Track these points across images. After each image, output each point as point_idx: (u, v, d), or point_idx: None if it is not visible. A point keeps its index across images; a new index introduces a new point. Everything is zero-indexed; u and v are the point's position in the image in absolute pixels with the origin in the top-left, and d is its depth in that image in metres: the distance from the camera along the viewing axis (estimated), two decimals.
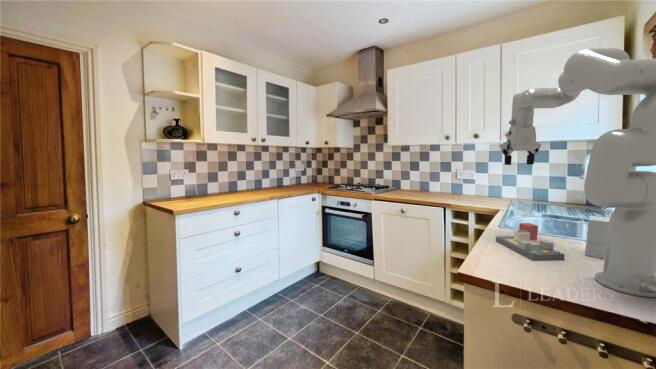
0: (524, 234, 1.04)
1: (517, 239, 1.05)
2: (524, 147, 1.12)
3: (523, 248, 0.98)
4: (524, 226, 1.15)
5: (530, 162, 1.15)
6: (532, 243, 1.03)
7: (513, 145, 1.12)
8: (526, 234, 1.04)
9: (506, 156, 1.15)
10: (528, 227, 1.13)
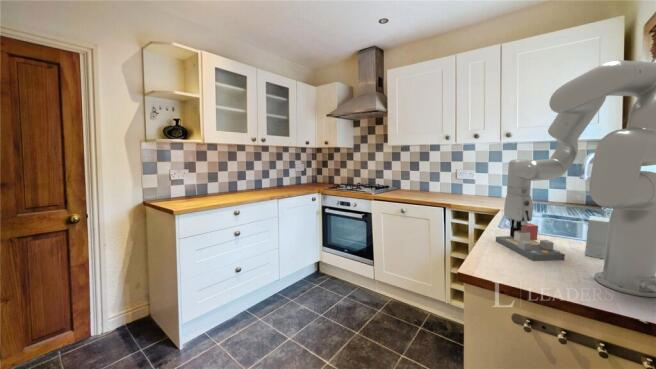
0: (524, 234, 1.04)
1: (517, 239, 1.05)
2: None
3: (523, 248, 0.98)
4: (524, 226, 1.15)
5: None
6: (532, 243, 1.03)
7: (531, 216, 1.03)
8: (526, 234, 1.04)
9: (519, 229, 1.07)
10: (528, 227, 1.13)
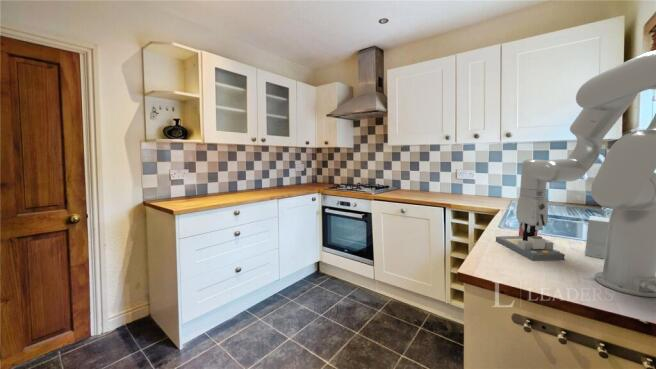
0: (539, 240, 0.97)
1: (531, 245, 0.98)
2: None
3: (523, 248, 0.98)
4: None
5: None
6: None
7: (547, 220, 0.96)
8: (541, 240, 0.97)
9: (532, 233, 1.00)
10: None
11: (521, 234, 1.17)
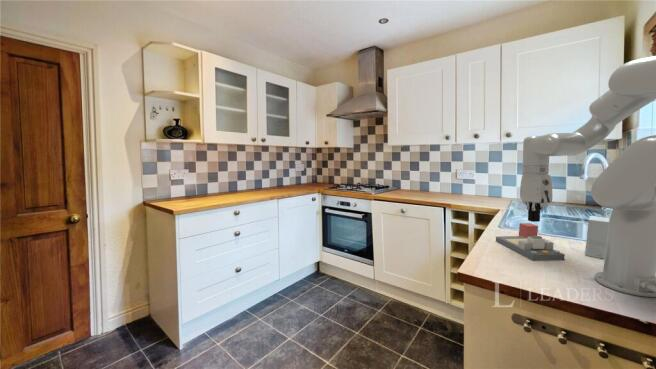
0: (538, 240, 0.97)
1: (531, 245, 0.98)
2: None
3: (523, 248, 0.98)
4: (524, 226, 1.15)
5: None
6: None
7: None
8: (541, 240, 0.97)
9: (537, 212, 0.98)
10: (528, 227, 1.13)
11: (521, 234, 1.17)
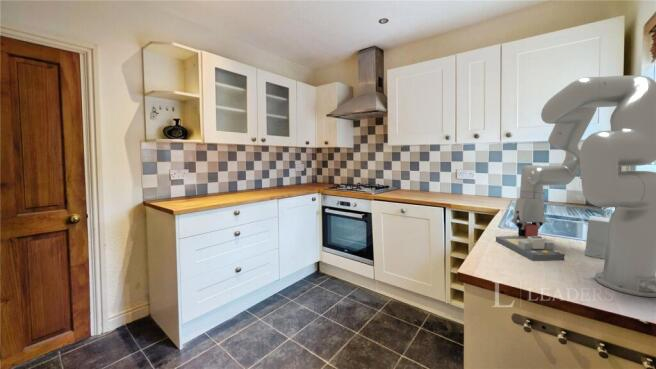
0: (538, 240, 0.97)
1: (531, 245, 0.98)
2: None
3: (523, 248, 0.98)
4: None
5: None
6: None
7: None
8: (541, 240, 0.97)
9: None
10: (528, 227, 1.13)
11: None
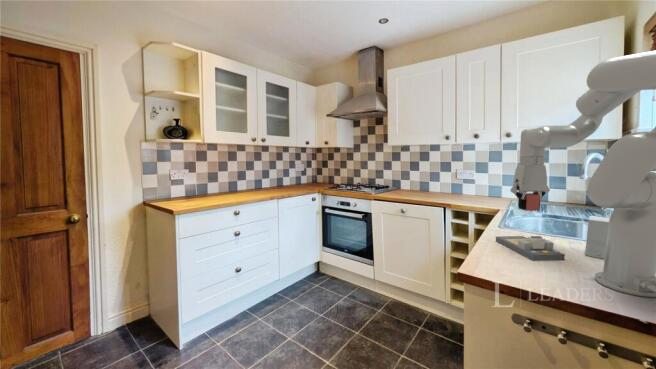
0: (538, 240, 0.97)
1: (531, 245, 0.98)
2: None
3: (523, 248, 0.98)
4: None
5: None
6: None
7: None
8: (541, 240, 0.97)
9: None
10: (529, 196, 1.03)
11: None
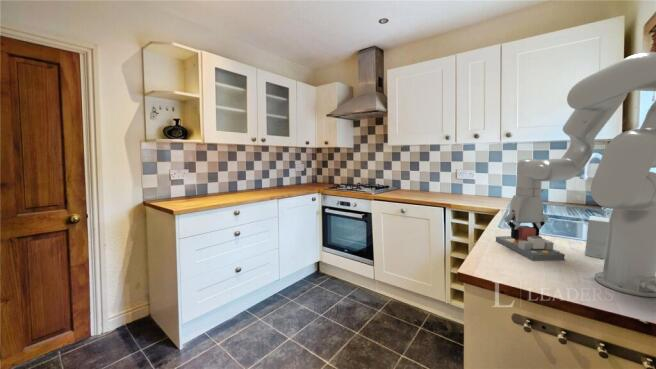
0: (538, 240, 0.97)
1: (531, 245, 0.98)
2: None
3: (523, 248, 0.98)
4: (520, 229, 1.03)
5: None
6: None
7: None
8: (541, 240, 0.97)
9: None
10: (525, 230, 1.01)
11: None
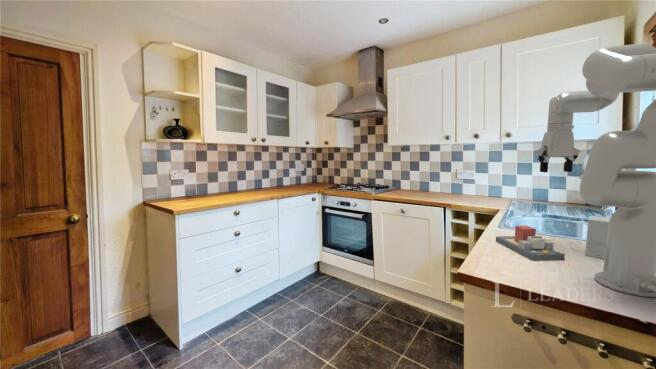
0: (538, 240, 0.97)
1: (531, 245, 0.98)
2: None
3: (523, 248, 0.98)
4: (520, 229, 1.03)
5: None
6: None
7: None
8: (541, 240, 0.97)
9: None
10: (525, 230, 1.01)
11: (517, 238, 1.05)
